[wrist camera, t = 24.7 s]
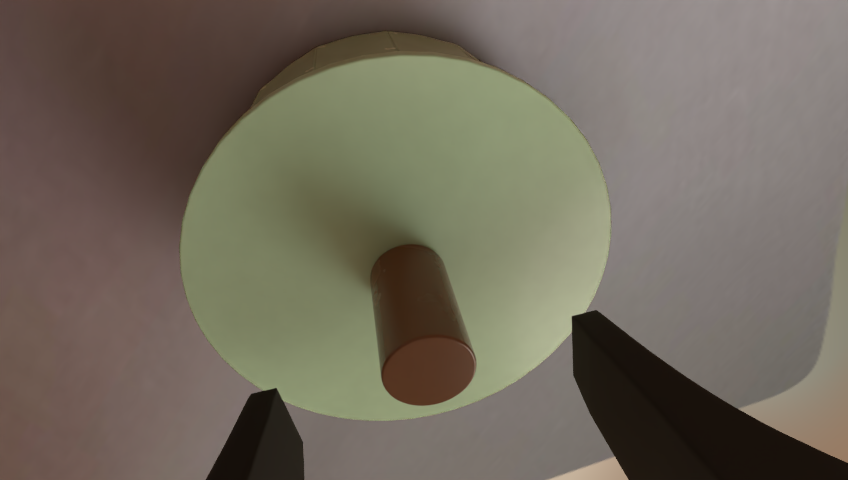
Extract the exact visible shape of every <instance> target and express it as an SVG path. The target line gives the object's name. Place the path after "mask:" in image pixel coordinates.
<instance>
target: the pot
mask: <svg viewBox="0 0 848 480" xmlns="http://www.w3.org/2000/svg"><path fill="white" fill-rule="evenodd" d="M394 51H419V52H436V53H442V54H449V55H455V56H461V57H466V58H469V59H472V60H475V61H479V62H482V61H480V60H479V59H477V58H476V57H474V56H473V55H471V54H470V53H468V52H467V51H466V50H464V49H463V48H461V47H460V46H459V45H456V44H454V43H449V42H444V41H441V40H437V39H434V38H430V37H426V36H422V35H417V34H408V33H400V32H393V31H388V32H387V31H382V32H378V33H369V34H362V35H356V36H350V37H347V38H344V39H341V40H337V41H334V42H331V43H328V44H326V45H321V46H318V47H317V48H314V49H312V50H311V51H310V52H308V53H307V54H305V55H304V56H302V57H301V58H299V59H298V60H296V61H294V62H293V63H291V64H290V65H288V66H287V67H286V68H285V69H284V70H283V71H282V72H280V73H279V74H278V75H277V76H276V77H275V78H274V79H272V80H271V81H270V82H269V83H268V84H266V85H265V86H264V87H262V88H261V90H259V92H258V94H257V95H256V97H255V99H254V101H253V103H252V105H251V107H250V109H251V108H252V107H253V106H254V105H256V104H257V103H258V102H260V101H261V100H262V99H263V98H265V97H266V96H267V95H268V94H270V93H271V92H273V91H275V90H277V89H278V88H280V87H282V86H283V85H285V84H287V83H289V82H290V81H292V80H294V79H295V78H297V77H299V76H301V75H304V74H306V73H309V72H311V71H314V70H316V69H318V68H321V67H323V66H326V65H328V64H331V63H335V62H339V61H343V60H346V59H350V58H354V57H358V56H362V55H369V54H377V53H386V52H394ZM482 63H483V62H482Z"/></svg>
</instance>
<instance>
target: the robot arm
mask: <svg viewBox="0 0 848 480" xmlns="http://www.w3.org/2000/svg"><path fill="white" fill-rule="evenodd" d="M572 344H573V375H574V378H575V380H576V382H577V385H578V387H579V389H580V392H581V394H582V396H583V399H584V401H585V403H586V405H587V408H588V410H589V412H590V414H591V416H592V418H593V419H594V421H595V423H596V425H597V426H598V428H599V430H600V432H601V433H602V435H603V437H604V438H605V440H606V442H607V444H608V445H609V447H610V449H611V450H612V452H613V454H614V456H615V457H616V459H617V461H618V462H619V464H620V466H621V467H622V469H623V471H624V473H625V474H626V476H627V477H628V479H629V480H848V463H846V462H844V461H842V460H840V459H837V458H835V457H833V456H830V455H828V454H826V453H824V452H821V451H819V450H817V449H815V448H813V447H811V446H809V445H807V444H805V443H803V442H800V441H798V440H796V439H794V438H792V437H790V436H788V435H786V434H783V433H782V432H779V431H778V430H776V429H774V428H772V427H770V426H768V425H766V424H764V423H762V422H760V421H758V420H756V419H755V418H753V417H751V416H749V415H748V414H746V413H744V412H742V411H740V410H739V409H737V408H735V407H733V406H732V405H730V404H728V403H727V402H725V401H723V400H722V399H720V398H718V397H717V396H715V395H713V394H712V393H710V392H709V391H707V390H706V389H704V388H702V387H701V386H699V385H698V384H696V383H695V382H693V381H692V380H690V379H689V378H687V377H686V376H684V375H683V374H681V373H680V372H678V371H677V370H675V369H674V368H673V367H671V366H670V365H668V364H667V363H666V362H664V361H663V360H661V359H660V358H658V357H657V356H656V355H654V354H653V353H652V352H650V351H649V350H648V349H646V348H645V347H643V346H642V345H641V344H640V343H638V342H637V341H636V340H634V339H633V338H632V337H630V336H629V335H628V334H627V333H625V332H624V331H623V330H621V329H620V328H619V327H618V326H616V325H615V324H614V323H613V322H611V321H610V320H609V319H607V318H606V317H605V316H604V315H602V314H601V313H600V312H598V311H597V310H595V311H591V312H587V313H582V314H578V315H574V316H572ZM206 480H304V458H303V442H302V439H301V437H300V435H299V433H298V431H297V429H296V427H295V425H294V423H293V421H292V419H291V417H290V415H289V412H288V410H287V408H286V406H285V404H284V402H283V400H282V398H281V396H280V394H279V392H278V390H277V388H274V389H270V390H266V391H262V392H258V393H253V394H251V395H250V397H249V398H248V400H247V402H246V404H245V406H244V408H243V410H242V412H241V414H240V416H239V418H238V420H237V422H236V424H235V426H234V428H233V430H232V432H231V434H230V436H229V438H228V440H227V441H226V443H225V445H224V447H223V449H222V451H221V453H220V455H219V457H218V458H217V460H216V462H215V464H214V466H213V468H212V469H211V471H210V473H209V475H208V477H207V479H206Z"/></svg>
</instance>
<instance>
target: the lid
mask: <svg viewBox="0 0 848 480" xmlns="http://www.w3.org/2000/svg"><path fill="white" fill-rule="evenodd" d="M610 238H611V207H610V202H609V196H608V190H607V185H606V182H605V179H604V176H603V173H602V170H601V167H600V164H599V162H598V160H597V158H596V156H595V154H594V152H593V151H592V149H591V147H590V145H589V143H588V141H587V140H586V138H585V137H584V136H583V134H582V133H581V132H580V130H579V129H578V128H577V126H576V125H575V124H574V123H573V121H572V120H571V119H570V118H569V117H568V116H567V115H566V114H565V113H564V112H563V111H562V110H561V109H560V108H559V107H558V106H556V105H555V104H554V103H553V102H552V101H551V100H550V99H549V98H548V97H546V96H545V95H544V94H542V93H541V92H539V91H538V90H536V89H535V88H533V87H532V86H530V85H529V84H527V83H526V82H525V81H523V80H522V79H519V78H517V77H515V76H513V75H511V74H509V73H507V72H505V71H503V70H501V69H499V68H497V67H495V66H491V65H488V64H485V63H482V62H479V61H475V60H472V59H469V58H466V57H461V56H455V55H449V54H442V53H436V52H419V51H394V52H386V53H377V54H369V55H362V56H358V57H354V58H350V59H346V60H343V61H339V62H335V63H331V64H328V65H326V66H323V67H321V68H318V69H316V70H314V71H311V72H309V73H306V74H304V75H301V76H299V77H297V78H295V79H294V80H292V81H290V82H289V83H287V84H285V85H283V86H282V87H280V88H278V89H277V90H275V91H273V92H271V93H270V94H268V95H267V96H266V97H265V98H263V99H262V100H261V101H260V102H258V103H257V104H256V105H254V106H253V107H252V108H251V109H249V110H248V111H247V112H246V113H244V114H243V115H242V116H241V117H240V119H239V120H238V121H237V122H236V123H235V124H234V125H233V126H232V127H231V128H230V129H229V130H228V131H227V132H226V134H225V135H224V136H223V137H222V138H221V139H220V141H219V142H218V144H217V145H216V147H215V148H214V150H213V151H212V153H211V154H210V156H209V157H208V159H207V160H206V161H205V163H204V165H203V167H202V169H201V171H200V173H199V175H198V178H197V180H196V182H195V184H194V186H193V188H192V190H191V192H190V195H189V198H188V202H187V205H186V209H185V212H184V216H183V219H182V226H181V235H180V244H179V253H180V270H181V277H182V281H183V285H184V290H185V294H186V298H187V300H188V303H189V305H190V308H191V310H192V313H193V315H194V318H195V320H196V322H197V323H198V325H199V327H200V328H201V330H202V332H203V333H204V335H205V337H206V338H207V340H208V341H209V343H210V344H211V345H212V346H213V348H214V349H215V350H216V351H217V352H218V354H219V355H220V356H221V357H222V359H224V360H225V361H226V362H227V363H228V364H229V365H230V366H231V367H232V368H233V369H234V370H235V371H236V372H238V373H239V374H240V375H241V376H243V377H244V378H245V379H247V380H248V381H249V382H251V383H252V384H254V385H255V386H256V387H258V388H260V389H261V390H263V391H266V390H270V389H274V388H277V390H278V392H279V394H280V396H281V398H282V400H283V401H285V402H287V403H290V404H292V405H295V406H297V407H299V408H303V409H306V410H309V411H313V412H316V413H320V414H323V415H329V416H334V417H339V418H345V419H356V420H367V421H391V420H402V419H413V418H419V417H424V416H430V415H435V414H439V413H443V412H446V411H450V410H454V409H457V408H460V407H463V406H466V405H468V404H471V403H474V402H476V401H479V400H481V399H483V398H485V397H488V396H490V395H492V394H494V393H496V392H498V391H500V390H502V389H503V388H505V387H507V386H509V385H510V384H512V383H514V382H515V381H517V380H519V379H520V378H522V377H523V376H524V375H526V374H527V373H528V372H530V371H531V370H533V369H534V368H535V367H537V366H538V365H539V364H540V363H541V362H542V361H544V360H545V359H546V358H547V357H548V356H549V355H550V354H552V353H553V352H554V351H555V350H556V349H557V348H558V346H559V345H560V344H561V343H562V342H563V341H564V340H565V339H566V338H567V337H568V336H569V334H570V333H571V332H572V316H574V315H578V314H582V313H585V312H586V310H587V308H588V306H589V305H590V303H591V301H592V299H593V298H594V295H595V293H596V291H597V288H598V286H599V283H600V281H601V279H602V276H603V272H604V269H605V265H606V262H607V258H608V253H609V246H610Z"/></svg>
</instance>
